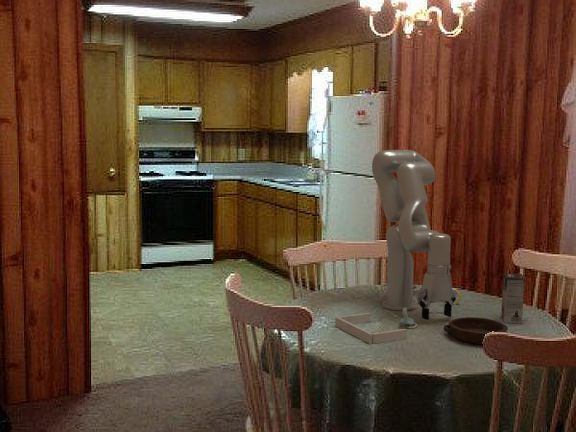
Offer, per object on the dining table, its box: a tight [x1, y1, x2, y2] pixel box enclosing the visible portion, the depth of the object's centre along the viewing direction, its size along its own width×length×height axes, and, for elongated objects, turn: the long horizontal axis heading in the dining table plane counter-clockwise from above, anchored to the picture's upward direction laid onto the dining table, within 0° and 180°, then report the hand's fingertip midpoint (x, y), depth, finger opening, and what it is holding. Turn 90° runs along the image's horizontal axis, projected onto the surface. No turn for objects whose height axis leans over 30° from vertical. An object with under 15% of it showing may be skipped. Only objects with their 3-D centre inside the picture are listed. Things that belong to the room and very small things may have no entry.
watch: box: [452, 287, 462, 305], centre depth 253 cm, size 6×3×6 cm, turn 62°
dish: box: [443, 316, 509, 345], centre depth 209 cm, size 17×22×5 cm
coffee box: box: [500, 272, 525, 325], centre depth 231 cm, size 9×6×16 cm
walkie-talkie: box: [413, 285, 422, 296], centre depth 271 cm, size 9×4×20 cm
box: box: [334, 312, 408, 345], centre depth 215 cm, size 22×14×3 cm, turn 26°
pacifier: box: [398, 308, 419, 330], centre depth 222 cm, size 7×6×6 cm
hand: (436, 317), depth 228 cm, fingers open, 9 cm apart
